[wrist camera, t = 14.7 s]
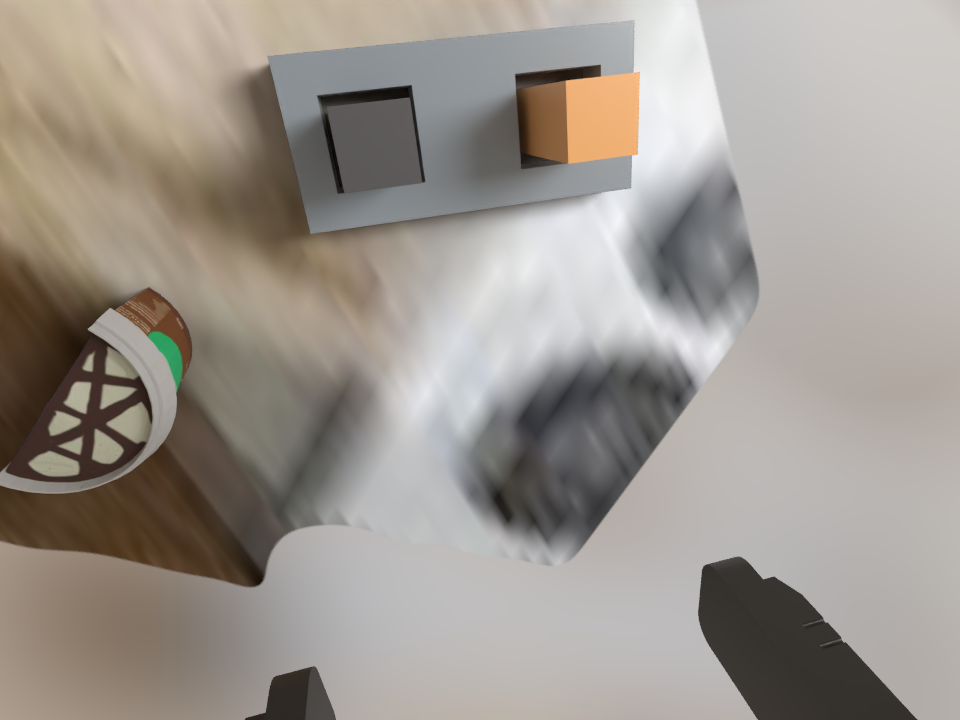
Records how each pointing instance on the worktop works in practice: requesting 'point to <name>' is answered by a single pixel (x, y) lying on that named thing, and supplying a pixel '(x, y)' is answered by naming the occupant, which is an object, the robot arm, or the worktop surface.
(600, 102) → the orange plug
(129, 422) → the food container
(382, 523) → the worktop surface
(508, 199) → the slate power strip
